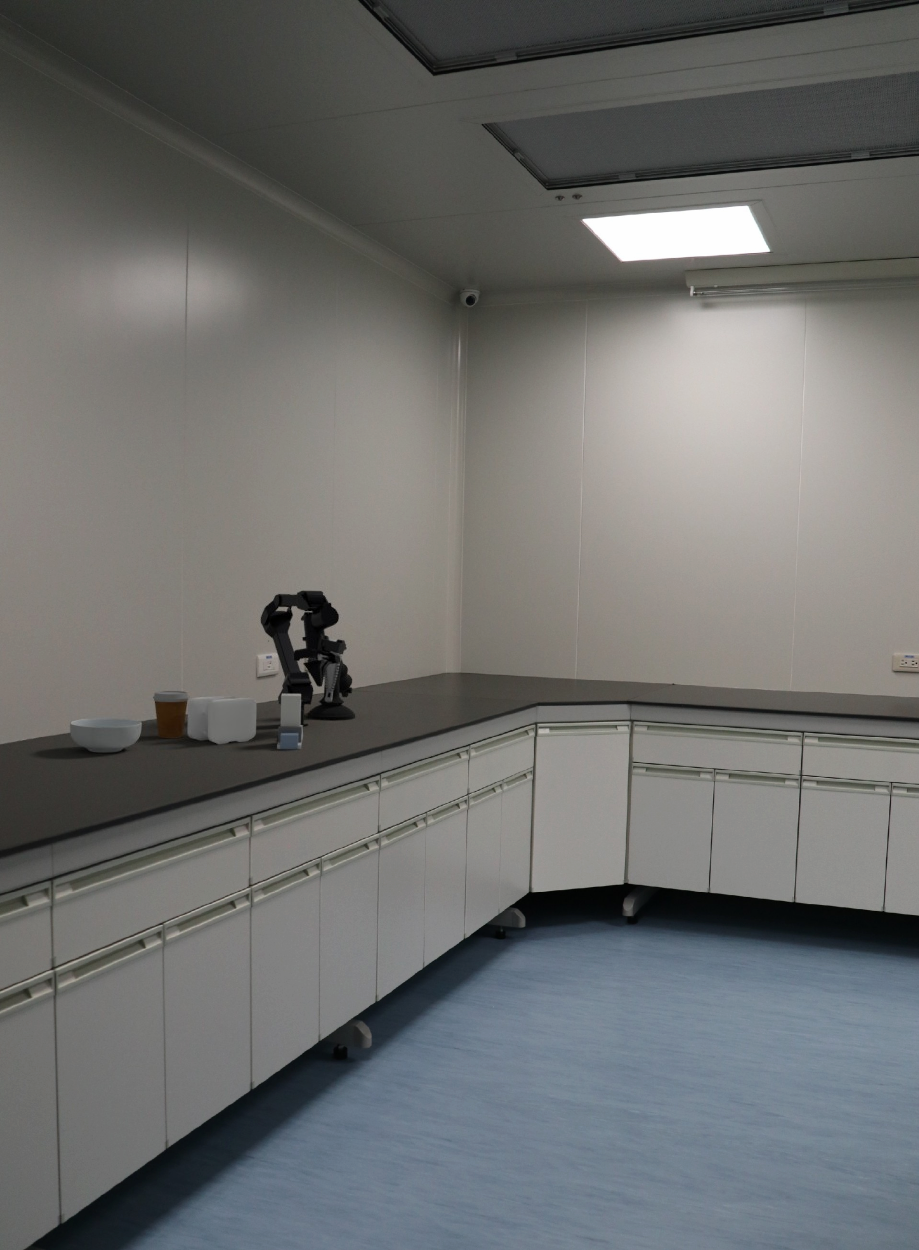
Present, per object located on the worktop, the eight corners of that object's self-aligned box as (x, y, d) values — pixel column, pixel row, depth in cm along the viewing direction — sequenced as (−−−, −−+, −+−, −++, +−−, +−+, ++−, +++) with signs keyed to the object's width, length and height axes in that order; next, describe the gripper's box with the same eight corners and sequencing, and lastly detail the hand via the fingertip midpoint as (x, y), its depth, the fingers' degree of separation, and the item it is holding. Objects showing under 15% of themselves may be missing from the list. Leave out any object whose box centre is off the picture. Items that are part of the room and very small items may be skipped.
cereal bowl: (106, 758, 248) (107, 728, 247) (54, 751, 255) (54, 722, 254) (155, 748, 263) (156, 720, 263) (105, 743, 270) (105, 715, 270)
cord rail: (281, 735, 291) (281, 717, 291) (302, 735, 292) (303, 717, 292) (277, 749, 267) (277, 729, 267) (300, 749, 268) (301, 729, 268)
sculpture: (300, 719, 327) (302, 639, 326) (323, 710, 350) (324, 636, 349) (347, 721, 324) (349, 641, 323) (367, 712, 348) (369, 637, 347)
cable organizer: (208, 746, 270) (209, 701, 269) (185, 741, 277) (186, 697, 276) (256, 740, 280) (257, 697, 280) (233, 736, 288) (234, 694, 287)
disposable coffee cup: (167, 740, 277) (167, 695, 276) (145, 736, 283) (145, 692, 282) (196, 736, 284) (196, 692, 284) (173, 732, 290) (174, 689, 290)
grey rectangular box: (281, 737, 279) (282, 693, 278) (300, 737, 279) (301, 693, 279) (280, 740, 274) (281, 695, 273) (299, 740, 275) (300, 695, 274)
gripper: (325, 624, 290) (330, 679, 288) (353, 632, 308) (359, 684, 305) (289, 631, 294) (294, 685, 291) (319, 638, 311) (325, 690, 309)
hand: (319, 686), depth 299 cm, fingers closed
